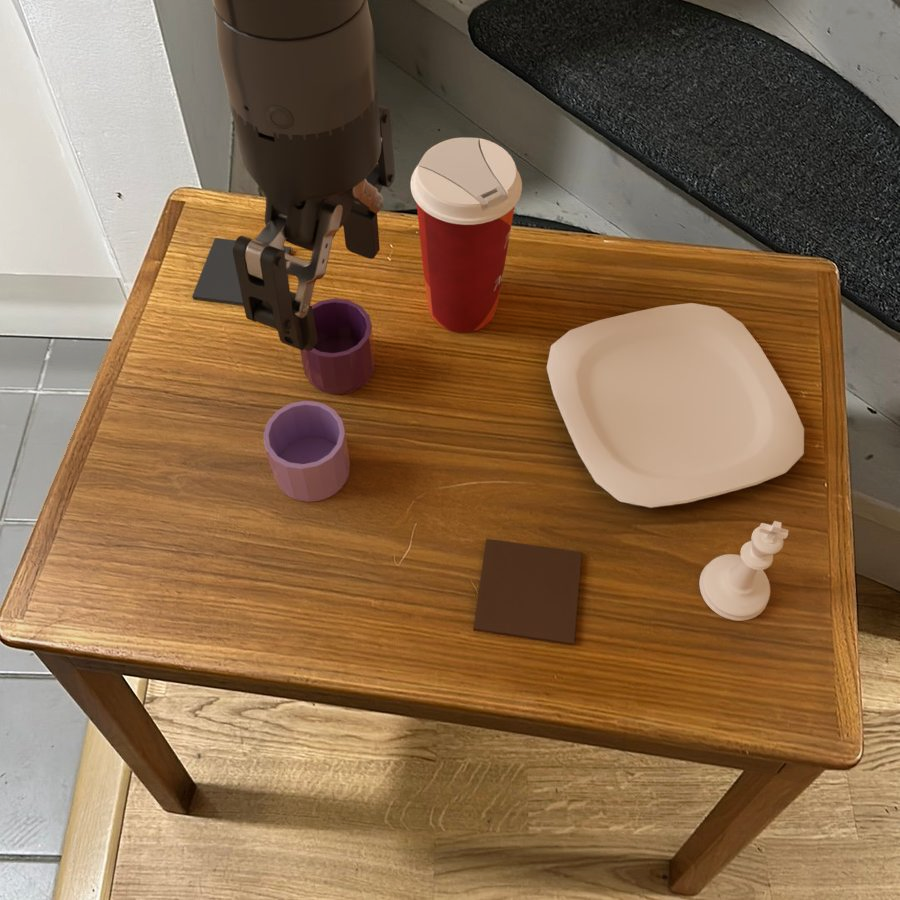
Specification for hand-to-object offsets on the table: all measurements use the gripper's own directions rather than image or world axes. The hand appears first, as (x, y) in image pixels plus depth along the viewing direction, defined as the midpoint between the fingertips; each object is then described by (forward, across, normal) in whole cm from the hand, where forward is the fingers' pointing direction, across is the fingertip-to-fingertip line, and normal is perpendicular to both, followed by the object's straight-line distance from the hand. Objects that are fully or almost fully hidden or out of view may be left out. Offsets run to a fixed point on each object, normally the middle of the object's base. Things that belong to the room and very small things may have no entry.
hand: (332, 296), depth 60 cm
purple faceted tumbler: (+15, -5, -4) cm, 16 cm away
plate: (+15, -12, +22) cm, 30 cm away
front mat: (+15, +7, +18) cm, 25 cm away
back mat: (+15, -10, -16) cm, 24 cm away
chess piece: (+15, +1, +31) cm, 35 cm away
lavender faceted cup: (+15, +5, -1) cm, 16 cm away
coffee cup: (+15, -15, +3) cm, 22 cm away
